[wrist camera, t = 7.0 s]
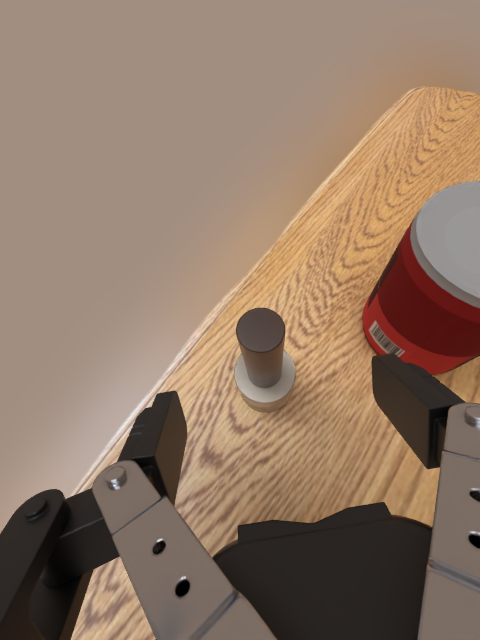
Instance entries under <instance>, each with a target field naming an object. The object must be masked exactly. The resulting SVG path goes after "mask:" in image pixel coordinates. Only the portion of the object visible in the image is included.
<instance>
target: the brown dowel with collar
mask: <svg viewBox="0 0 480 640" xmlns="http://www.w3.org/2000/svg"><path fill="white" fill-rule="evenodd" d="M236 335H237V338H238V342H239V345H240V349H241V352H242V353H241V355H240V356H239V357H238V359H237V361H236V364H235V369H234V377H235V381H236V384H237V386H238V388H239V391H240V393H241V395H242V397H243V399H244V400H245V402H246V403H247V404H248V405H249V406H250V407H251V408H253V409H255V410H257V411H261V412H273V411H276V410H278V409H280V408H281V407H283V406H284V405H285V404H286V403H287V402H288V400H289V398H290V396H291V393H292V389H293V385H294V382H295V377H296V370H295V365H294V362H293V360H292V358H291V356H290V355H289V354H288V353H287V352H286V351H285V350H284V340H285V324H284V322H283V320H282V318H281V317H280V316H279V315H278V314H277V313H276V312H274V311H272V310H270V309H267V308H255V309H252V310H249V311H248V312H246V313H245V314H244V315H243V316H242V317H241V318H240V319H239V321H238V323H237V327H236Z"/></svg>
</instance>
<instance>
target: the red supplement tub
mask: <svg viewBox="0 0 480 640" xmlns="http://www.w3.org/2000/svg"><path fill="white" fill-rule="evenodd" d="M363 327H364V332H365V335H366V338H367V340H368V342H369V343H370V345H371V347H372V348H373V349H374V350H375V352H376V353H377V354H378V355H383V354H388V353H394V354H395V355H397V356H398V357H399V358H400V359H401V360H402V361H404V362H405V363H412V364H415V365H417V366H420V367H422V368H424V369H425V370H426V371H427V372H429V373H430V374H437V373H444V372H447V371H450V370H453V369H455V368H457V367H459V366H461V365H463V364H465V363H467V362H468V361H470V360H472V359H474V358H476V357H478V356H480V181H472V182H464V183H459V184H456V185H453V186H449V187H447V188H445V189H443V190H441V191H439V192H437V193H436V194H434V195H433V196H432V197H431V198H429V199H428V200H427V201H426V203H425V204H424V205H423V207H422V208H421V209H420V210H419V212H418V213H417V214H416V216H415V217H414V219H413V221H412V222H411V224H410V226H409V228H408V229H407V230H406V232H405V234H404V236H403V237H402V239H401V241H400V243H399V245H398V246H397V248H396V250H395V252H394V254H393V255H392V257H391V259H390V261H389V263H388V264H387V266H386V268H385V270H384V271H383V273H382V275H381V277H380V279H379V280H378V282H377V284H376V286H375V288H374V289H373V291H372V293H371V295H370V296H369V298H368V300H367V302H366V304H365V307H364V310H363Z"/></svg>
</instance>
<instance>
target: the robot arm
mask: <svg viewBox="0 0 480 640" xmlns="http://www.w3.org/2000/svg"><path fill="white" fill-rule="evenodd" d="M372 383H373V394H374V398H375V400H376V402H377V404H378V406H379V407H380V408H381V410H382V411H383V412H384V414H385V415H386V416H387V418H388V419H389V420H390V421H391V423H392V424H393V425H394V427H395V428H396V429H397V431H398V432H399V433H400V434H401V436H402V437H403V438H404V440H405V441H406V442H407V444H408V445H409V446H410V448H411V449H412V450H413V451H414V453H415V454H416V455H417V457H418V458H419V459H420V461H421V462H422V463H423V464H424V466H425V467H426V468H427V469H432V468H438V467H440V474H439V481H438V489H437V497H436V505H435V513H434V521H433V527H431V526H429V525H427V524H424V523H422V522H419V521H417V520H414V519H410V518H407V517H402V516H397V515H391V514H390V512H389V510H388V508H387V506H386V504H385V502H380V503H374V504H368V505H362V506H356V507H350V508H346V509H344V510H342V511H340V512H337V513H335V514H333V515H331V516H329V517H326V518H324V519H322V520H320V521H318V522H315V523H302V522H291V521H280V520H270V521H263V522H257V523H251V524H245V525H239V526H238V539H237V540H235V541H233V542H231V543H230V544H228V545H226V546H225V547H223V548H222V549H221V550H219V551H218V552H217V553H216V554H215V555H214V556H213V557H211V556H210V555H209V553H208V552H207V551H206V549H205V548H204V547H203V545H202V544H201V542H200V541H199V540H198V538H197V537H196V536H195V534H194V533H193V532H192V530H191V529H190V528H189V526H188V525H187V523H186V522H185V521H184V519H183V518H182V517H181V515H180V514H179V513H178V511H177V510H176V508H175V507H174V504H175V499H176V494H177V488H178V483H179V477H180V472H181V467H182V461H183V456H184V451H185V445H186V440H187V425H186V420H185V417H184V414H183V410H182V407H181V403H180V400H179V396H178V394H177V392H176V391H170V392H164V393H158V394H157V395H156V397H155V400H154V402H153V405H152V407H149V408H145V409H144V410H143V411H142V412H141V413H140V414H139V416H138V417H137V418H136V420H135V423H134V425H133V428H132V429H131V432H130V434H129V436H128V438H127V441H126V443H125V445H124V447H123V449H122V452H121V454H120V456H119V458H118V461H117V462H116V463H114V464H112V465H110V466H109V467H107V468H106V469H104V470H103V471H102V472H101V473H100V474H99V475H98V476H97V478H96V479H95V481H94V483H93V486H92V488H91V489H88V490H86V491H84V492H81V493H79V494H77V495H74V496H72V497H70V498H67V499H65V497H64V495H63V493H62V492H61V491H60V490H57V489H51V490H46V491H43V492H41V493H39V494H36V495H35V496H33V497H31V498H30V499H28V500H27V501H26V502H25V503H24V504H22V505H21V506H20V507H19V508H18V509H17V510H16V511H15V513H14V514H13V515H12V517H11V518H10V520H9V522H8V523H7V525H6V526H5V528H4V529H3V531H2V532H1V534H0V640H71V637H72V634H73V631H74V628H75V625H76V622H77V618H78V615H79V612H80V609H81V606H82V603H83V600H84V597H85V594H86V591H87V588H88V585H89V582H90V579H91V576H92V573H93V570H94V569H95V568H97V567H99V566H101V565H103V564H105V563H107V562H109V561H111V560H113V559H115V558H117V557H119V556H120V557H121V559H122V562H123V564H124V566H125V569H126V571H127V573H128V576H129V578H130V580H131V582H132V585H133V587H134V589H135V592H136V594H137V596H138V599H139V601H140V603H141V606H142V608H143V610H144V612H145V615H146V617H147V619H148V622H149V624H150V626H151V629H152V631H153V633H154V636H155V638H156V640H480V404H477V403H466V402H465V401H463V400H462V399H461V398H460V397H458V396H457V395H456V394H455V393H453V392H452V391H451V390H450V389H448V388H447V387H446V386H445V385H444V384H442V383H440V381H439V380H437V379H436V378H435V377H432V375H431V374H430V373H429V372H427V371H426V370H425V369H424V368H422V367H420V366H417V365H415V364H412V363H405V362H404V361H402V360H401V359H400V358H399V357H398V356H397V355H395V354H394V353H388V354H383V355H377V356H373V358H372Z"/></svg>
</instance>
